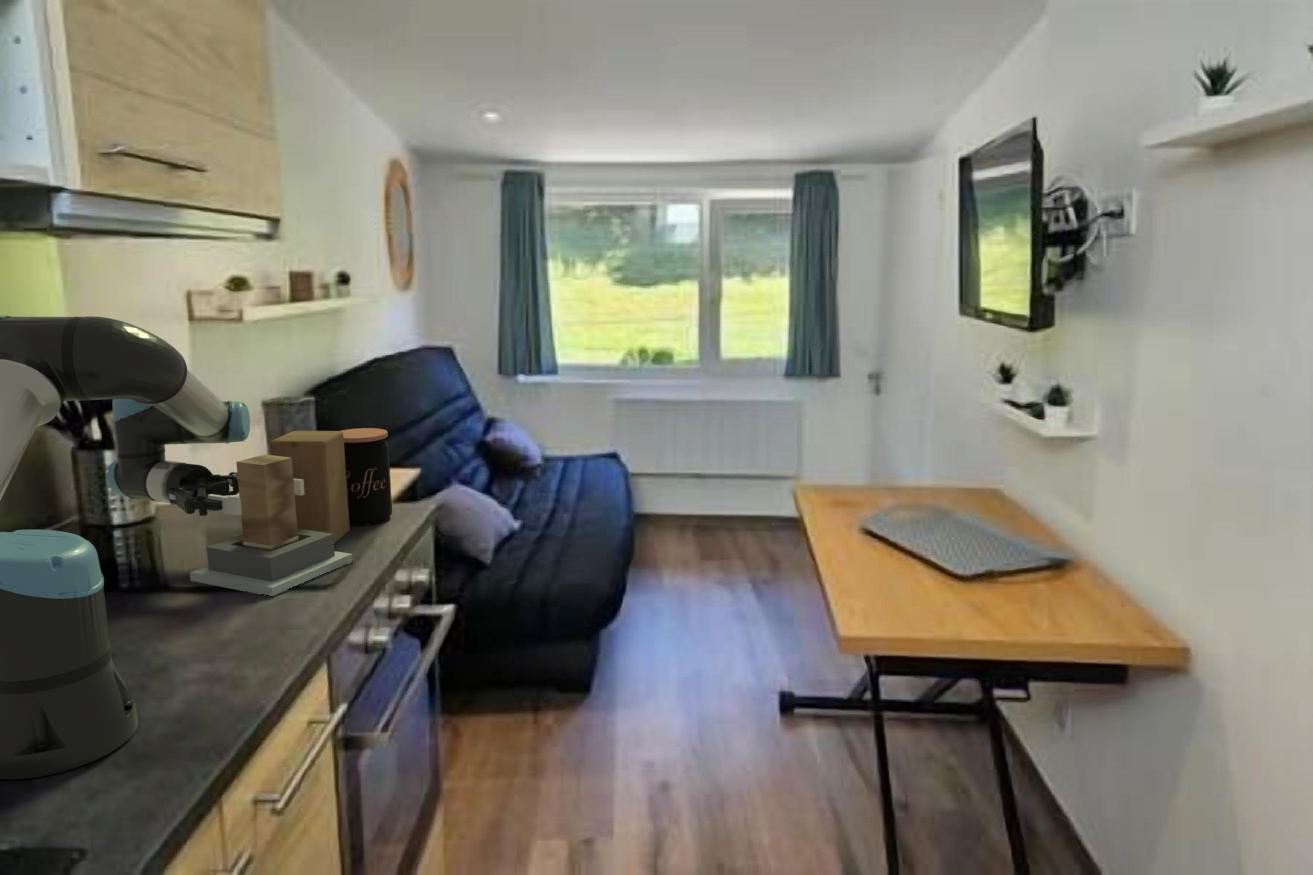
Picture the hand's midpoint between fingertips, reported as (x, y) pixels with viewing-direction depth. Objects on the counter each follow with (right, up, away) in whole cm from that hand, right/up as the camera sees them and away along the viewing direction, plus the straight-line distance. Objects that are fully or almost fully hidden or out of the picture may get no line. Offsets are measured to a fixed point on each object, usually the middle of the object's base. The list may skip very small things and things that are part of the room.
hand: (272, 496), depth 151 cm
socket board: (-1, -13, +2) cm, 13 cm away
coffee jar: (+5, -7, +32) cm, 34 cm away
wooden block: (0, -9, +20) cm, 22 cm away
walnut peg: (-1, -11, +2) cm, 11 cm away
